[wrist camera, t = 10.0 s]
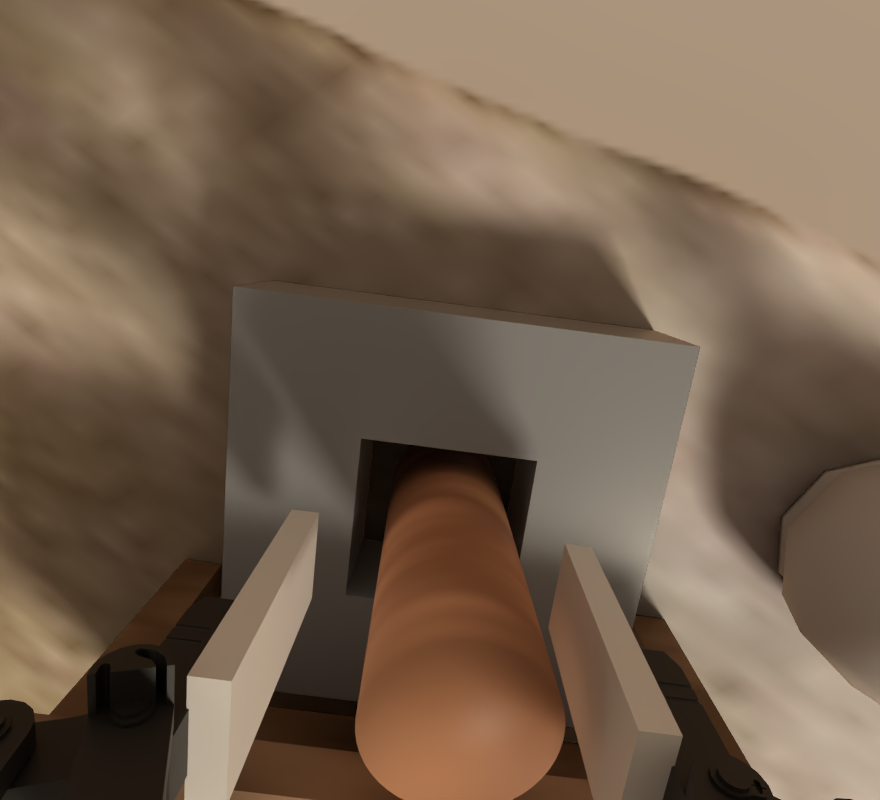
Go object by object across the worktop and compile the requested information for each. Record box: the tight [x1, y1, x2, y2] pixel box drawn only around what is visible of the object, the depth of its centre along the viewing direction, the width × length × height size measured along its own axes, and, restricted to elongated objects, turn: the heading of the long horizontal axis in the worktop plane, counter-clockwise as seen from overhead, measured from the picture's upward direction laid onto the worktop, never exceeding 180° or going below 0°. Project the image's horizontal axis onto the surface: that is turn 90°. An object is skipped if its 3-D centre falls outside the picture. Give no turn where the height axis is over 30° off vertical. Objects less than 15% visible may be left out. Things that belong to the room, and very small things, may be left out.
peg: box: [355, 445, 565, 800], centre depth 17 cm, size 4×4×12 cm
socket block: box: [221, 281, 700, 728], centre depth 21 cm, size 14×14×4 cm
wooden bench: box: [34, 560, 751, 800], centre depth 20 cm, size 21×8×10 cm, turn 83°
